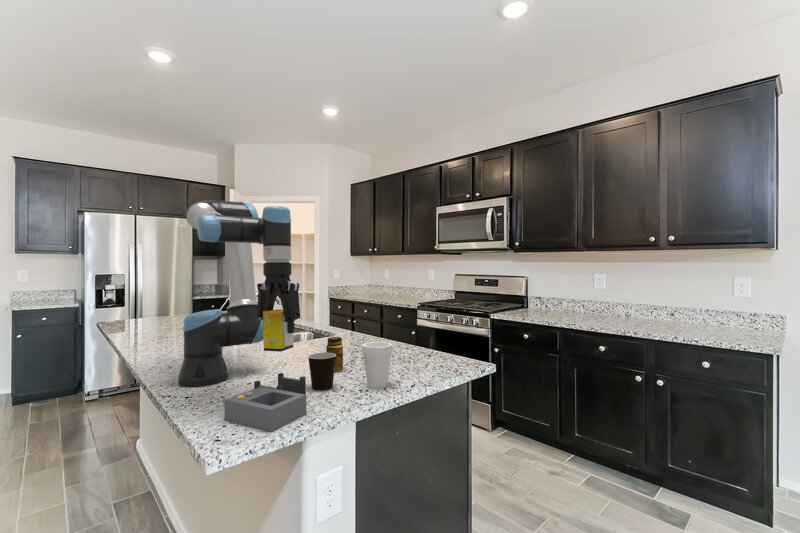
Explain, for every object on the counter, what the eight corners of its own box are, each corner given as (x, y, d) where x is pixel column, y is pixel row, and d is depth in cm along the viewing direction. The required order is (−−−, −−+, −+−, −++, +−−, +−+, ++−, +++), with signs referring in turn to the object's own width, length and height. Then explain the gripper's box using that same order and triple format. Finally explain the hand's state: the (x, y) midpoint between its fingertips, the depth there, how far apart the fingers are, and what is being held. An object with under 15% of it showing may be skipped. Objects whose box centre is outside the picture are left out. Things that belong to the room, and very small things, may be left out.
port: (224, 419, 97) (224, 397, 97) (261, 404, 108) (261, 384, 108) (271, 431, 90) (271, 407, 90) (306, 414, 100) (306, 392, 100)
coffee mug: (330, 392, 118) (329, 359, 118) (303, 390, 119) (303, 358, 119) (343, 381, 129) (343, 351, 129) (319, 380, 131) (318, 350, 131)
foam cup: (356, 385, 124) (356, 345, 124) (377, 379, 131) (377, 340, 131) (377, 392, 118) (377, 349, 118) (398, 385, 124) (397, 344, 124)
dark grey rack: (254, 399, 112) (254, 381, 112) (280, 389, 121) (280, 372, 121) (280, 405, 107) (279, 386, 107) (305, 394, 116) (305, 376, 116)
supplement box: (275, 346, 113) (275, 309, 113) (293, 347, 111) (293, 309, 111) (262, 351, 107) (262, 311, 107) (281, 352, 105) (281, 311, 105)
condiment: (347, 370, 143) (347, 337, 143) (328, 375, 137) (328, 341, 137) (336, 366, 148) (336, 335, 148) (317, 371, 142) (316, 338, 142)
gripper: (242, 262, 110) (243, 344, 110) (294, 260, 102) (296, 349, 101) (262, 262, 117) (263, 339, 117) (313, 261, 108) (314, 344, 108)
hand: (278, 344), depth 109 cm, fingers closed on supplement box, 6 cm apart
